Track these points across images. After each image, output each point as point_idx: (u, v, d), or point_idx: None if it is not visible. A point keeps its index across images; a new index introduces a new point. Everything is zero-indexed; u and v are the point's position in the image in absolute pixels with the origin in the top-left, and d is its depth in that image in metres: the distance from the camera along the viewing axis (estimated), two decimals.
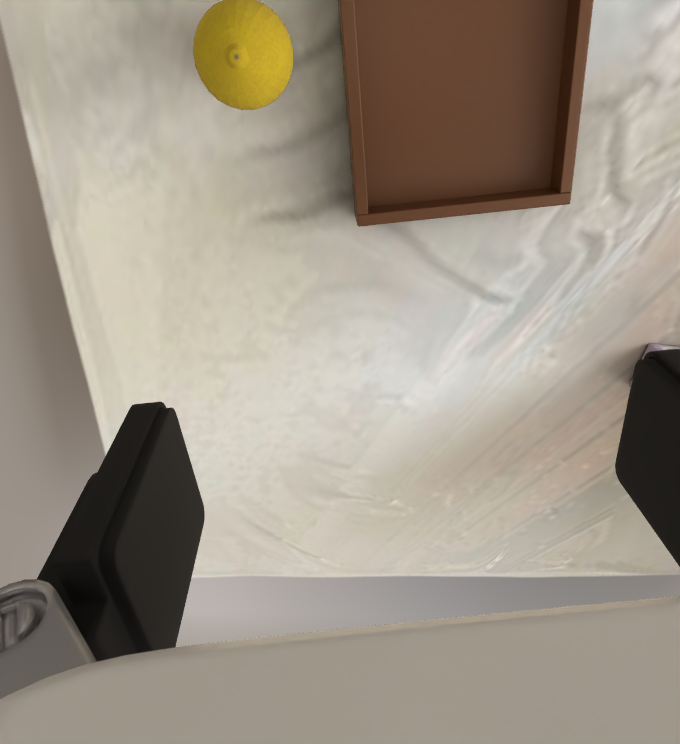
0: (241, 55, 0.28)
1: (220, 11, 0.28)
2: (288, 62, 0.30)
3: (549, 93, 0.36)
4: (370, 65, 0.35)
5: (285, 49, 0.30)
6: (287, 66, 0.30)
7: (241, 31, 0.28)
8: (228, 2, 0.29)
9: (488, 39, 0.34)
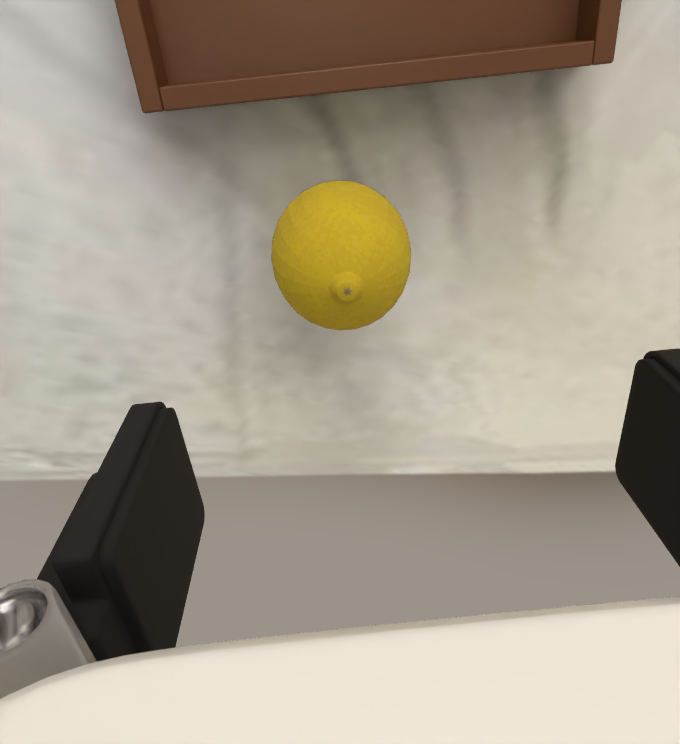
0: (345, 284, 0.19)
1: (290, 297, 0.20)
2: (351, 198, 0.20)
3: None
4: (351, 38, 0.21)
5: (334, 204, 0.19)
6: (357, 201, 0.20)
7: (315, 277, 0.19)
8: (279, 281, 0.21)
9: None
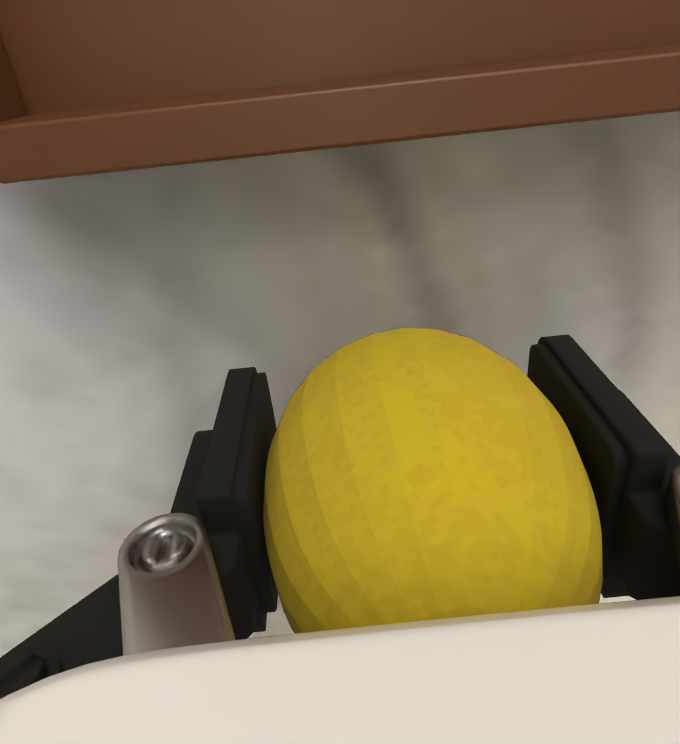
0: None
1: None
2: (470, 421, 0.07)
3: None
4: (454, 6, 0.09)
5: (429, 450, 0.07)
6: (489, 435, 0.07)
7: None
8: (280, 597, 0.09)
9: None
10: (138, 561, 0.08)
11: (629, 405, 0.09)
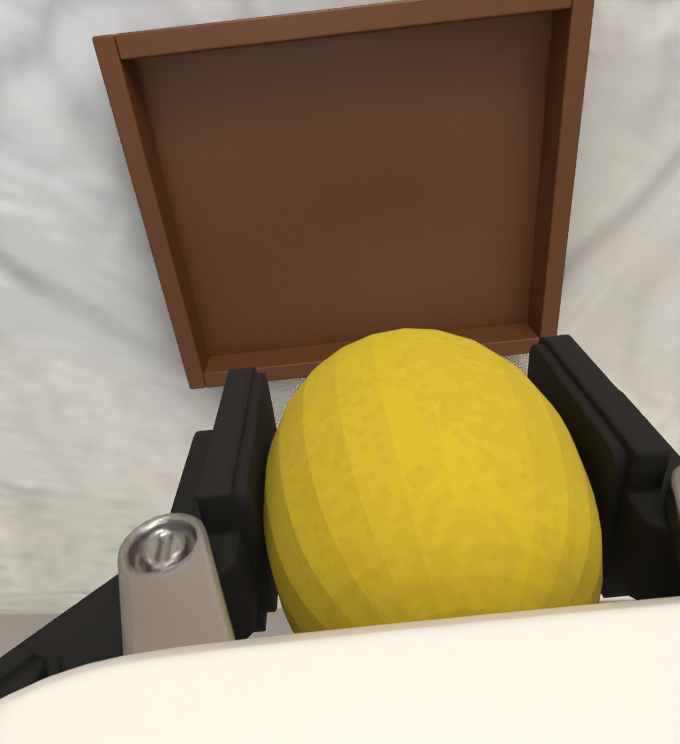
0: None
1: None
2: (470, 422, 0.07)
3: (394, 48, 0.21)
4: (351, 324, 0.27)
5: (429, 451, 0.07)
6: (489, 436, 0.07)
7: None
8: (279, 597, 0.09)
9: (319, 169, 0.23)
10: (138, 561, 0.08)
11: (629, 405, 0.09)
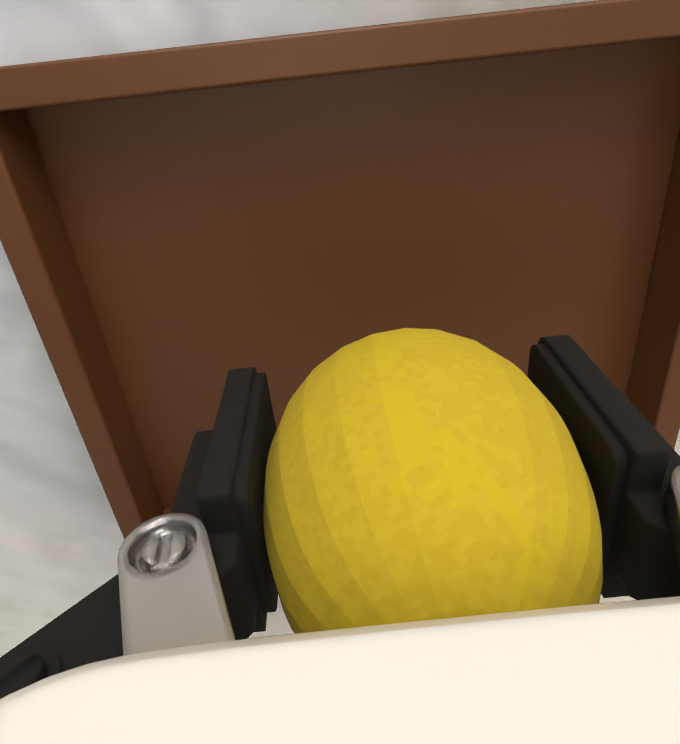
0: None
1: None
2: (471, 422, 0.07)
3: (442, 90, 0.13)
4: None
5: (429, 451, 0.07)
6: (488, 436, 0.07)
7: None
8: (280, 597, 0.09)
9: (321, 267, 0.15)
10: (138, 561, 0.08)
11: (629, 405, 0.09)
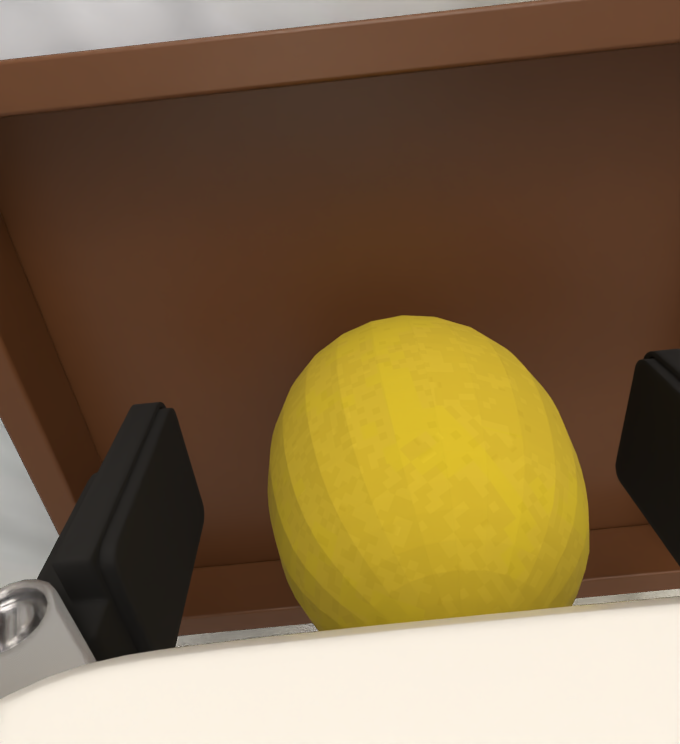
0: None
1: (311, 620, 0.09)
2: (464, 399, 0.08)
3: (480, 97, 0.11)
4: None
5: (425, 426, 0.08)
6: (480, 413, 0.08)
7: None
8: (284, 568, 0.09)
9: (328, 307, 0.13)
10: None
11: None
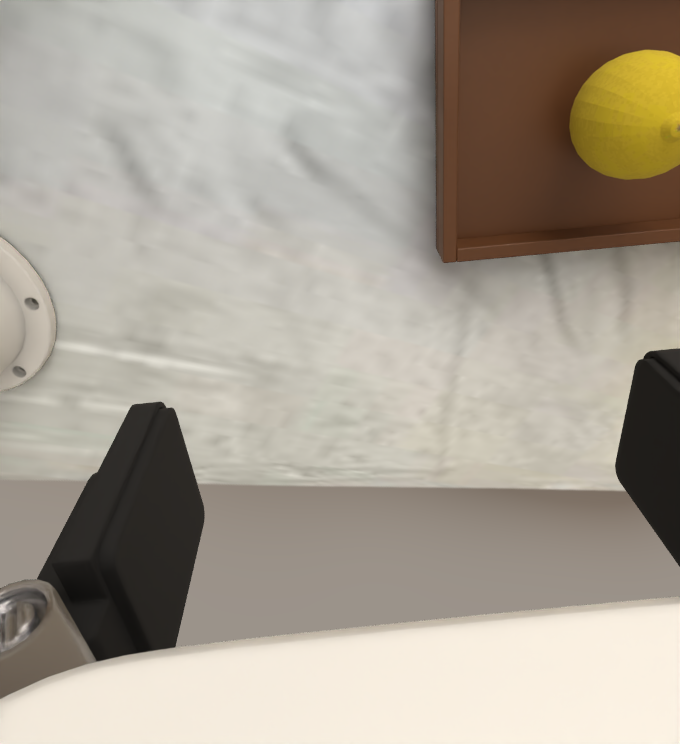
0: (679, 121, 0.23)
1: (611, 142, 0.25)
2: (672, 56, 0.24)
3: None
4: (575, 213, 0.33)
5: (662, 59, 0.24)
6: (679, 58, 0.24)
7: (648, 118, 0.23)
8: (597, 131, 0.25)
9: (578, 73, 0.29)
10: None
11: None
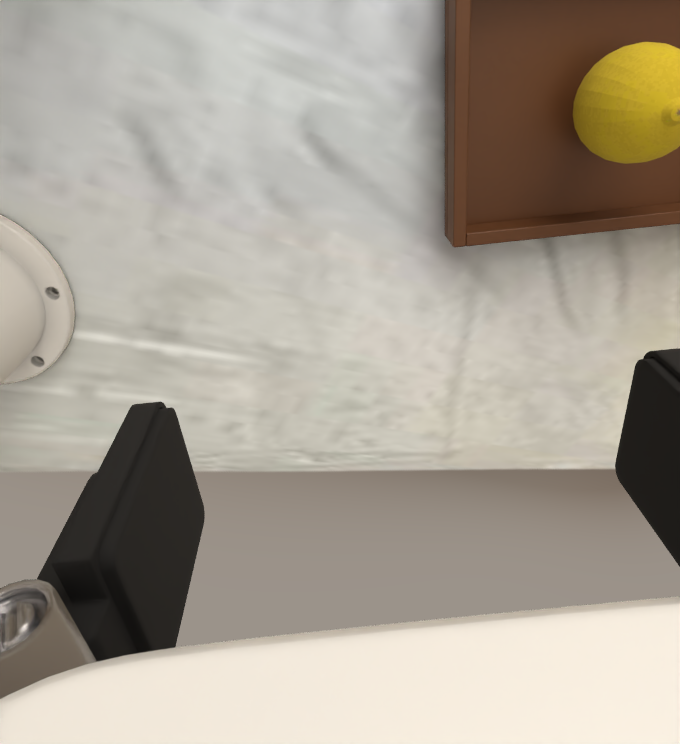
0: (679, 106, 0.25)
1: (615, 127, 0.26)
2: (670, 47, 0.26)
3: None
4: (576, 199, 0.35)
5: (662, 50, 0.25)
6: (676, 48, 0.26)
7: (650, 104, 0.25)
8: (601, 117, 0.27)
9: (579, 65, 0.31)
10: None
11: None
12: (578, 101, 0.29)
